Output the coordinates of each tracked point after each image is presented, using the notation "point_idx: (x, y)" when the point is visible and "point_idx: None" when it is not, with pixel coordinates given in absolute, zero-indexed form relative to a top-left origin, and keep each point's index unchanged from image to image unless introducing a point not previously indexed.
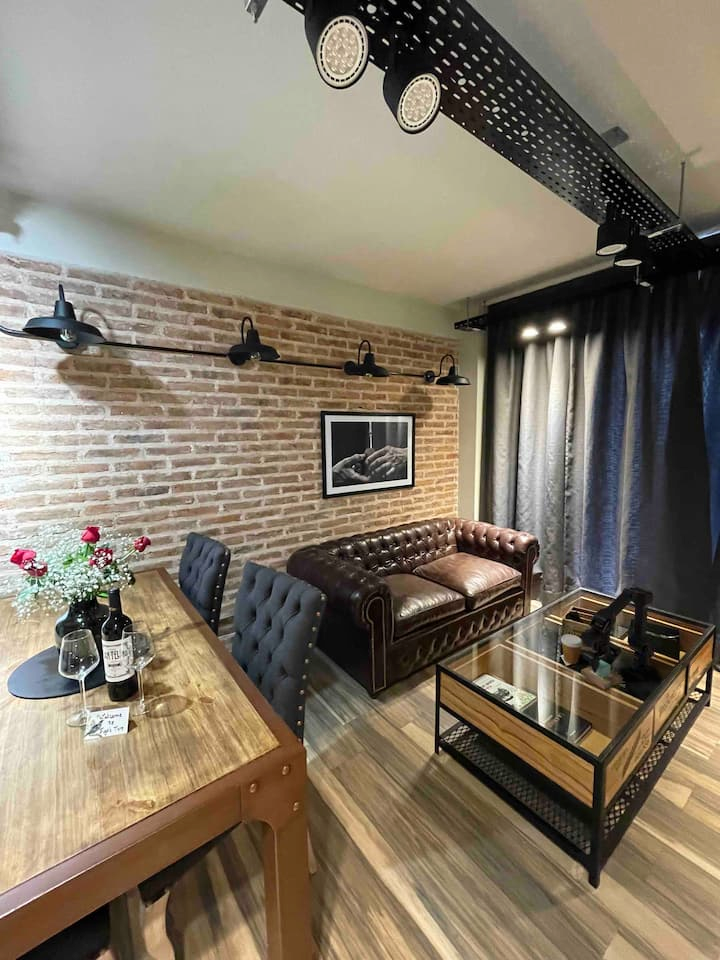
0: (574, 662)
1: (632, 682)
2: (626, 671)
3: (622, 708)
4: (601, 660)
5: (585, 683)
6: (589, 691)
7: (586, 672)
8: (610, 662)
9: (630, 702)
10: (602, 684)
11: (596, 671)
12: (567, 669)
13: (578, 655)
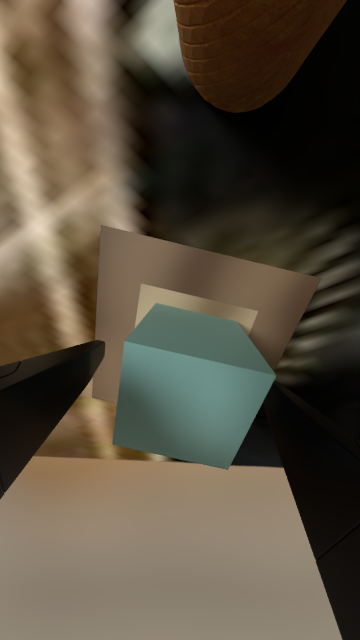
0: (206, 85)
1: (264, 429)
2: (352, 390)
3: (70, 447)
4: (253, 391)
5: (69, 297)
6: (35, 340)
7: (107, 275)
8: (288, 450)
9: (125, 454)
10: (95, 385)
11: (91, 373)
12: (88, 110)
13: (279, 5)
